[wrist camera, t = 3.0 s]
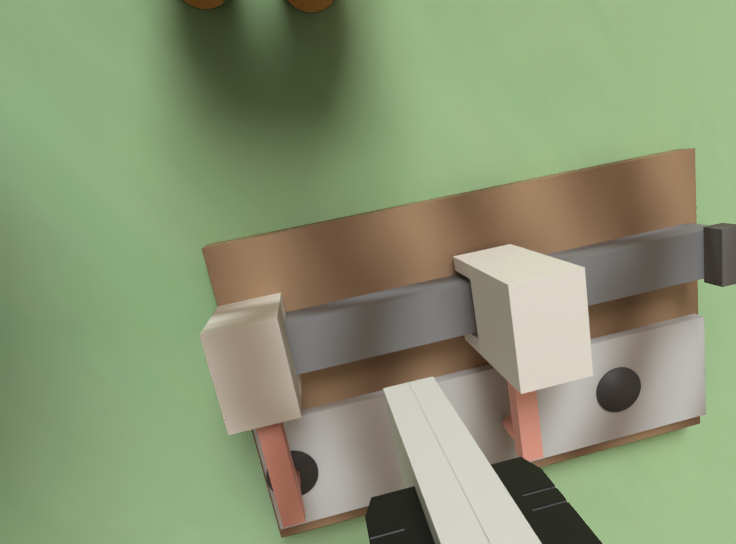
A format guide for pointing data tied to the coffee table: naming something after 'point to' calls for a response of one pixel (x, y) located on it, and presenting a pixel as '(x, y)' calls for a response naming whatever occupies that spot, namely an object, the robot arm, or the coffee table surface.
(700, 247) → the gauge
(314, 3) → the binoculars
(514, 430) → the slider head
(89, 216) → the coffee table surface
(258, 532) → the coffee table surface
